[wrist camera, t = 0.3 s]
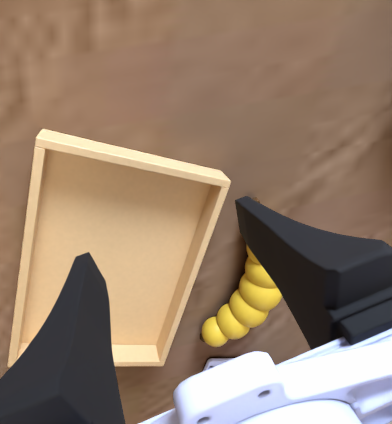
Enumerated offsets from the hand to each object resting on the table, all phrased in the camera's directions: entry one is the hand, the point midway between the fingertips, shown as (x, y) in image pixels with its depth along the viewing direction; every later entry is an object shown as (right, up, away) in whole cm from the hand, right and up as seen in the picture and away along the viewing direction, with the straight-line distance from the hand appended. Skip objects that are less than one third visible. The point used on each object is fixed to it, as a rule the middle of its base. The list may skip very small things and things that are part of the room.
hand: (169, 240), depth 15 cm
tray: (-6, -3, +12) cm, 13 cm away
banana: (+6, -5, +16) cm, 18 cm away
